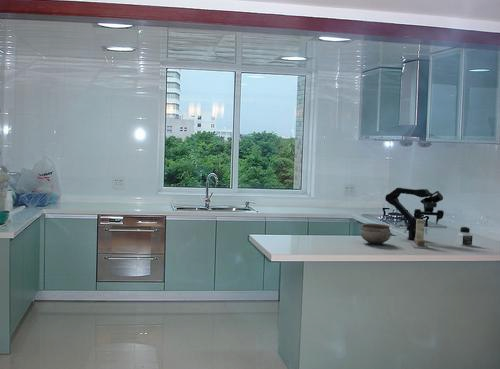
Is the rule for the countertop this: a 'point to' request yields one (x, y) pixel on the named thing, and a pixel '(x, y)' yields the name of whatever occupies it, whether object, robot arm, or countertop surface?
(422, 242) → the flat rectangular plate
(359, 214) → the countertop surface
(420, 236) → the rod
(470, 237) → the medicine bottle
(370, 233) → the cooking pot
